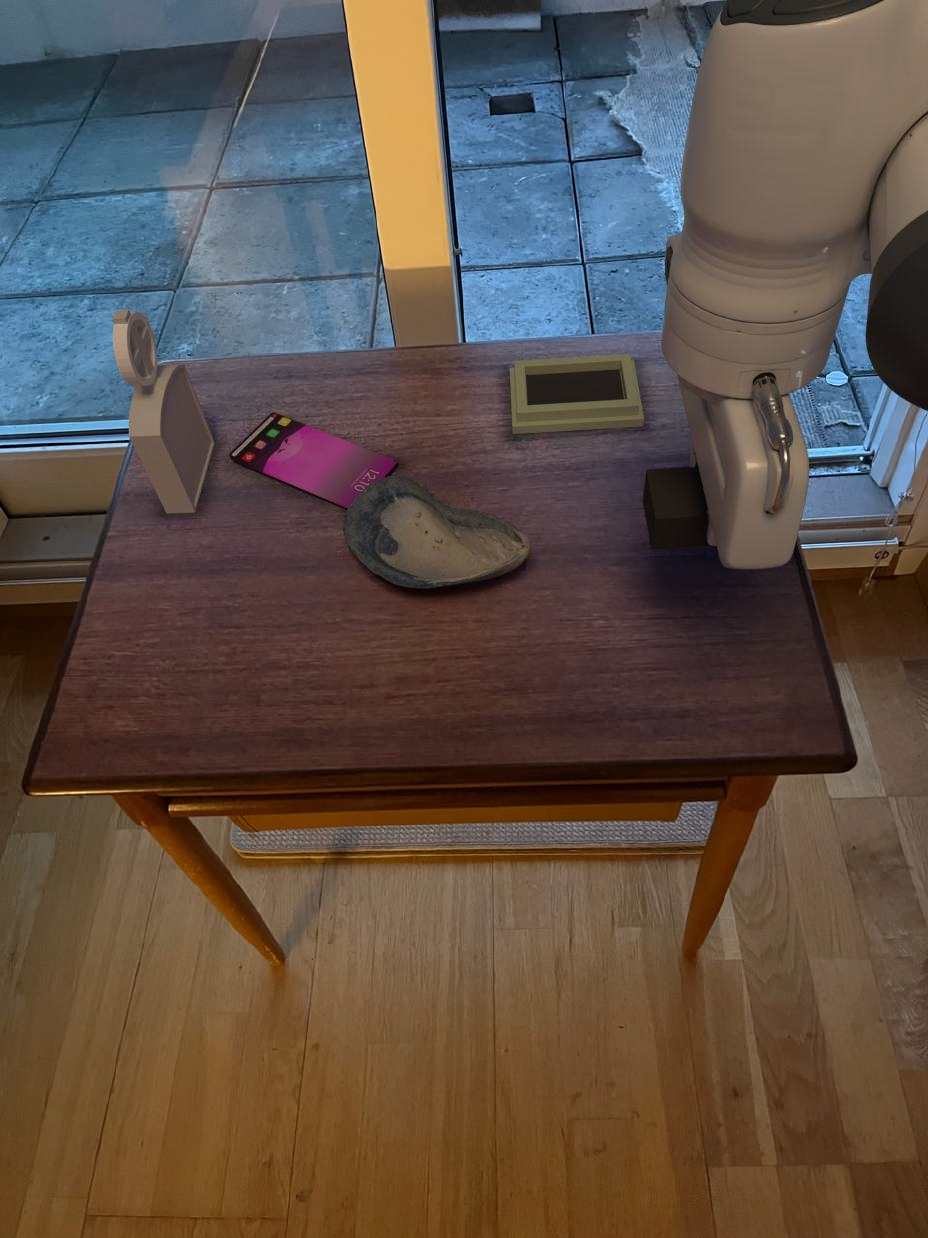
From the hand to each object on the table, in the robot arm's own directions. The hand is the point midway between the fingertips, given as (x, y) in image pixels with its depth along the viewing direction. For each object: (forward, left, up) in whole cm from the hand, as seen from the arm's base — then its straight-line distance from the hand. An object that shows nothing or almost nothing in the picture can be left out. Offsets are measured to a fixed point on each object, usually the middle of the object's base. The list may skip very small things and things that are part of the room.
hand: (711, 503), depth 59 cm
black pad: (0, 0, -2) cm, 2 cm away
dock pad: (+24, -18, -15) cm, 34 cm away
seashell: (+21, +5, -16) cm, 27 cm away
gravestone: (+47, +13, -16) cm, 51 cm away
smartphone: (+38, +4, -15) cm, 42 cm away
